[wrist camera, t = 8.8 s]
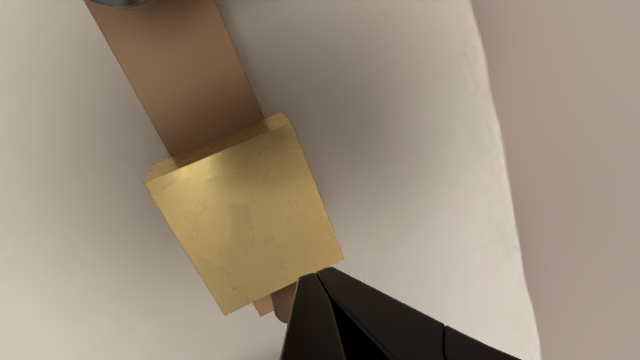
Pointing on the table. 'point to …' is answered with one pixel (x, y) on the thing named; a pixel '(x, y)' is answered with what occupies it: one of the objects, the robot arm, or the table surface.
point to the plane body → (186, 82)
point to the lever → (125, 4)
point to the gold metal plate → (246, 211)
